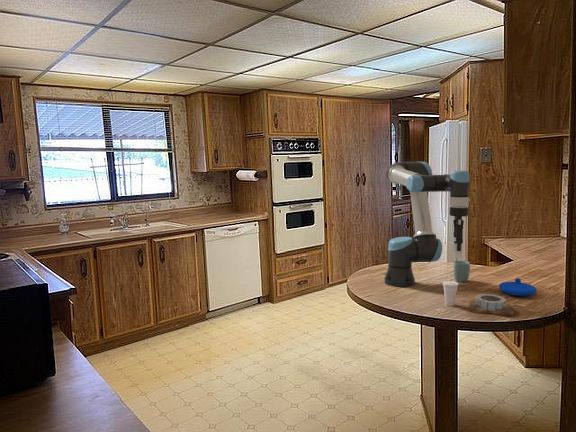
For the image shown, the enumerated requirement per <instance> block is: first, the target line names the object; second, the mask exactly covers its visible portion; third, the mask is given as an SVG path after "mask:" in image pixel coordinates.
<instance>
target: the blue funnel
mask: <svg viewBox="0 0 576 432" xmlns="http://www.w3.org/2000/svg"><path fill="white" fill-rule="evenodd" d="M498 287H499V289H500V291H502V292H504V293H505V294H508V295H510V296H511V295H512V296H515V297H516V296H518V297H528V296H531V295H534V294H536V292H537V288H536V287H535V285H532V284H530V283H526V282H522V280H521V278H515V280H514V281H504V282H501V283H500V284H499V285H498Z"/></svg>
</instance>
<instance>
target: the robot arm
mask: <svg viewBox="0 0 576 432" xmlns="http://www.w3.org/2000/svg"><path fill="white" fill-rule="evenodd" d="M385 175H386V178H387V180H388V181H389V182H390V183H392V184H395V185H399V184H400V185H401V186H404V187H406V189H407V190H408V191H409V193H410V202H411V203H410V204H411V208H412V209H411V210H412V211H411V212H412V217H413V225H414V235H413V236H412V237H411V236H399V237H394V238H391V239H390V240H389V241H388V249H387V250H388V260H387V261H388V262H387V263H388V266H387V270H386V273H385V275H384V284H385V285H388V286H393V287H401V288H402V287H404V288H405V287H411V286H414V285H415V283H416V281H415V279H416V278H415V275H414V272H413V269H412V267H413V264H412V263H433V262H437V261H439V260H440V259H441V257H442V254H443V243H442V241H441V239H440V238H437V235H436V233H435V232H433V226H432V220H431V219H432V218H431V212H430V204H429V198H428V193H429V192H430V193H432V192H433V193H436V192H437V193H440V192H449V206H450V207H449V216H450V217H453V218H454V219H453V220H452V221H453V242H452V243H453V245H452V252H453V253H454V259H456V260H457V259H458V260H459V259H460V260H461V259H463V243H464V238H463V237H464V234H463V233H464V232H463V231H464V224H465V220H463V217H468V216H469V202H471V199H470V197H469V195H470V184H471V182H470V180H471V179H470V172H469V170H452V171H451V172H450V174H448V173H447V174H446V173H445V174H433V170H432V168H431V166H430V164H429V163H428V162H426V161H397V162H394V163H392V164H391V165H390V166H388V168H387V170H386V173H385Z"/></svg>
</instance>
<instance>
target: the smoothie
mask: <svg viewBox="0 0 576 432" xmlns="http://www.w3.org/2000/svg"><path fill="white" fill-rule="evenodd" d="M442 286H443V293H444V295H443V296H444V304H445V306H448V307H453V306H455V303H456V297H457V291H458V287H459V283H458V281H457V282H456V281H453V280H452V281H451V273H448V280H447V281H446V280H445V281H443V282H442Z"/></svg>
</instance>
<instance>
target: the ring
mask: <svg viewBox="0 0 576 432" xmlns="http://www.w3.org/2000/svg"><path fill="white" fill-rule="evenodd" d="M474 301H475V305H476V307H478V308H480V309H484V310H489V311H502V310H505V309H506V303H507V299H506V298H505V297H503V296H500V295H498V294H488V293H483V294H482V293H481V294H477V295H475V300H474Z"/></svg>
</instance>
